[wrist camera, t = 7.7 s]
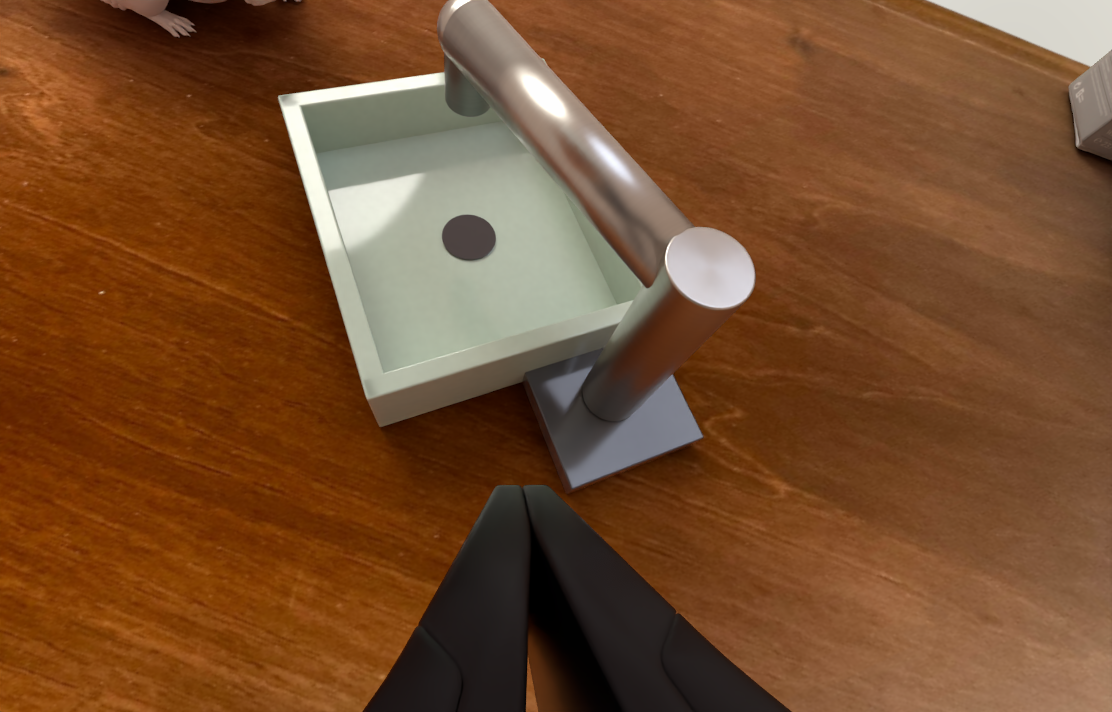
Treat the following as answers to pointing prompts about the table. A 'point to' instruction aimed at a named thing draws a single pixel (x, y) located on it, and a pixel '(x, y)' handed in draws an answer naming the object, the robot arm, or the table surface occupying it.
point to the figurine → (152, 5)
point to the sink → (469, 270)
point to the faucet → (601, 207)
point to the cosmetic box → (1094, 108)
